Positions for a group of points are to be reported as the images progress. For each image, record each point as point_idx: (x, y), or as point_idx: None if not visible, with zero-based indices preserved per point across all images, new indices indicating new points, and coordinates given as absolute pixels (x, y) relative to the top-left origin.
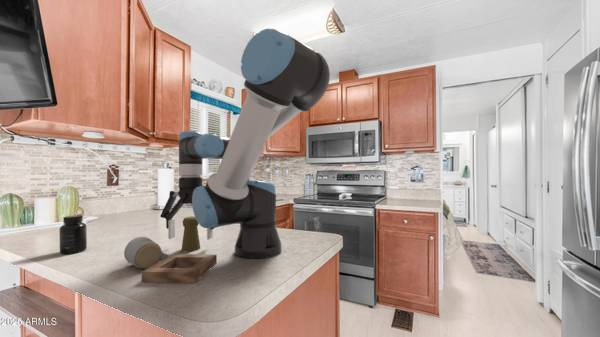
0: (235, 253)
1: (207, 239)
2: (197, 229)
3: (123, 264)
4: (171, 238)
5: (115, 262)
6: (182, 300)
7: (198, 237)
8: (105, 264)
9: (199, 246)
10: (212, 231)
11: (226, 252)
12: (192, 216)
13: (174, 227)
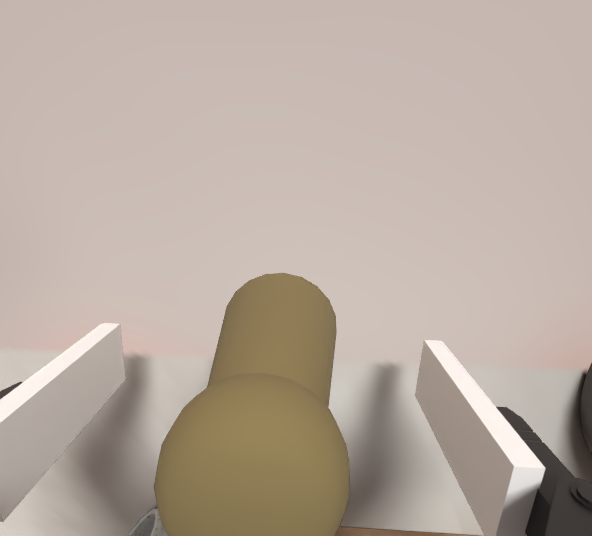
0: (589, 446)
1: (417, 395)
2: (326, 399)
3: (86, 528)
4: (124, 369)
5: (26, 506)
6: None
7: (331, 359)
8: (6, 525)
9: (335, 331)
10: (463, 369)
11: (525, 398)
12: (253, 508)
13: (67, 375)
